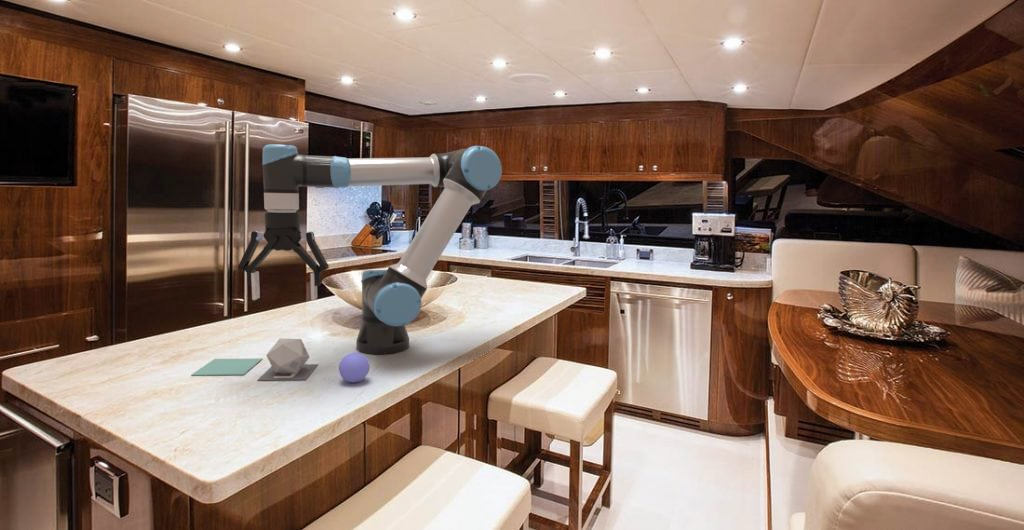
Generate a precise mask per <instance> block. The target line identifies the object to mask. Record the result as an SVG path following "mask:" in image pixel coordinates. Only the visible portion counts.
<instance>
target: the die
mask: <svg viewBox="0 0 1024 530" xmlns="http://www.w3.org/2000/svg"><path fill="white" fill-rule="evenodd" d="M305 346H306V345H305V344H304V342H303V340H302V338H283V337H282V338H279V339H278V340H277V341H276V343H275V344H274V345H272V347H271V349H270V350H269V351H268V353H266V357H267V359H268V361H269V364H270V367H271V366H272V368H273V370H274V371H275V373H279V374H297V373H298V372H299V371H300V369H301V368H302V367H303V365H304V364H307V363H306V362H307V361H308V360H309V358H310V354H309V353H308V350H307V349H306V347H305Z"/></svg>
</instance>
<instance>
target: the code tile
mask: <svg viewBox="0 0 1024 530" xmlns="http://www.w3.org/2000/svg"><path fill="white" fill-rule="evenodd" d="M317 367H318V363H310V364H309V363H305V364H304V365H303V367H302V368H301V369H300V371H299V372H298V373H297V374H279V373H275V371H274V370H273V368H272V366H271V365H270V367H269V368H268V369H267V370H266V371H265V372H264V373H263V374H262V375H260V376H259V378H257V379H256V381H257V382H283V381H285V382H286V381H289V382H291V381H292V382H293V381H297V382H299V381H300V382H302V381H305V382H306V381H307V379H308V378H309V377H310V376H311V374H312V373H313V372H314V370H316V368H317Z"/></svg>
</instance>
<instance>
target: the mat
mask: <svg viewBox="0 0 1024 530" xmlns="http://www.w3.org/2000/svg"><path fill="white" fill-rule="evenodd" d="M262 360H263V358H261V357H260V358H214V359H212V360H210V361H209V362H208V363H206V364H205V365H204V366H202V367H200V368H199V369H198V370H196V371H195V372H193V373H191V375H190V376H191V377H193V376H194V377H204V376H205V377H210V376H211V377H215V376H216V377H218V376H220V377H221V376H224V377H225V376H231V377H232V376H245V375H246V374H248V373H249V372H250V371H251V370H252V369H253V368H254V367H255V366H257V365H258V364H259V363H260V362H262Z"/></svg>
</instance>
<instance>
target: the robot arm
mask: <svg viewBox="0 0 1024 530" xmlns="http://www.w3.org/2000/svg"><path fill="white" fill-rule="evenodd" d="M501 163H502V162H501V159H500V158H499V156H498V155H497V153H496V152H495V151H494V150H493V149H491V148H489V147H487V146H483V145H481V146H480V145H472V146H470V147H466V148H462V149H461V148H460V149H456V150H453V151H450V152H445V153H444V152H443V153H432V154H431V155H429V157H371V158H370V157H367V158H366V157H365V158H364V157H363V158H361V157H359V158H358V157H357V158H355V157H354V158H347V157H343V156H336V155H334V156H333V155H328V156H327V155H305V154H300V153H299V152H298V148H297V146H295V145H290V144H279V143H277V144H275V143H274V144H273V143H272V144H266V145H264V147H262V177H263V179H262V180H263V181H262V183H263V204H264V206H263V208H264V209H265V210H266V212H265V213H264V226H265V230H264V232H263V231H259V230H254V231H251V234H250V241H249V243H248V245H247V247H246V249H245V251H244V254H243V256H242V257H241V260H240V262H239V264H238V266H237V268H238V270H240V271H243V272H246V275H247V276H246V277H247V279H246V280H247V285H248V286H251V300H252V301H256V300H258V299H260V298H261V290H260V289H261V288H260V272H259V271H257V268H258V267H259V266H260V265H261V264H262V263H263V261H264V260H265V259H266V258H267V257H268V255H269V254H271V252H272V251H286V252H287V251H289V252H290V251H293V252H295V253H296V254H297V255H298V256H299V257H300V258H301V260H302V261H303V262H304V263H305V264H306V265H307V266H308V267H309V269H311V271H312V272H311V273H310V301H315V300H317V299H318V287H320V286H321V284H322V272H324V271H327V270H328V269H329V264H328V262H327V260H326V259H325V256H324V254H323V253H322V251H321V249H320V248H319V245H318V244H317V242H316V239H315V233H314V231H308V232H301V230H300V229H301V227H300V225H301V224H300V222H301V221H300V213H299V212H297V211H298V210H300V206H299V205H300V197H299V195H300V193H299V191H300V190H299V187H305V188H306V187H313V188H316V189H323V188H334V189H339V188H341V189H342V188H344V189H345V188H348V187H368V186H369V187H370V186H371V187H372V186H401V185H402V186H403V185H405V186H407V185H431V186H433V187H434V188H444V189H443V190H442V192H441V194H440V195H439V197H438V198H437V200H436V201H435V204H433V207H432V208H431V210H430V211H429V213H428V214H427V216H426V218H425V220H424V221H423V223H422V224H421V226H420V227H419V228H418V231H417V233H416V234H415V236H414V237H413V239H412V240H411V242H410V243H409V245H408V246H407V248H406V250H405V251H404V253H403V255H402V257H400V259H399V261H398V263H397V262H396V263H394V264H391V265H389V267H388V268H387V269H366V270H363V272H362V275H361V280H360V281H361V299H362V300H361V301H362V303H361V304H362V305H361V308H362V309H361V311H362V312H361V313H362V316H361V317H362V320H361V321H362V322H361V325H360V329H359V331H358V335H357V337H356V341H355V342H356V343H355V344H356V347H355V348H356V350H357V351H358V352H360V353H364V354H371V355H387V354H395V353H400V352H403V351H405V350H407V349H408V348H409V347H410V336H409V334H408V331H407V327H406V325H407V324H410V323H411V322H412V321H414V320H415V319H416V318H417V317H418V315H419V313H420V311H421V309H422V308H421V307H422V298H423V296H424V295H425V292H426V291H427V290H428V283H427V279H428V277H429V276H430V273H431V272H432V271H433V269H434V267H435V266H436V264H437V262H438V261H439V260H440V258H441V256H442V254H443V252H444V251H445V249H446V248H447V246H448V244H449V243H450V241H451V240H452V237H453V236H454V234H455V233H456V232H457V230H458V228H459V227H460V225H461V223H462V221H463V220H464V218H465V216H466V215H467V213H468V212H469V210H470V208H471V207H472V206H473V205H477V204H478V205H479V204H480V203H481V201H482V199H483V198H484V196H485V194H486V193H487V191H489V190H492V189H493V188H494V187H495V186H497V184H499V182H500V179H501V178H502V175H503V174H502V173H503V170H502V169H503V167H502V164H501ZM263 238H264V239H265V241H266V242H267V244H266V245H265V246H264V247H263V248H262V250H261V251H260V253H258V255H257V256H256V257H255V258H254V259H253V256H254V254H255V252H256V250H257V248H258V246H259V243H260V241H262V240H263ZM302 239H303V240H304V242H306V243H307V245H308V247H309V249H310V251H311V253H312V254H313V257H314V258H315V260H316V261H315V260H314V259H313V257H312V256H311V255H310V254H309V253H308V251H306V250H305V248H304V247H303V245H301V243H300V242H301V240H302ZM252 259H253V261H252ZM251 261H252V262H251ZM250 262H251V263H250Z"/></svg>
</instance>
